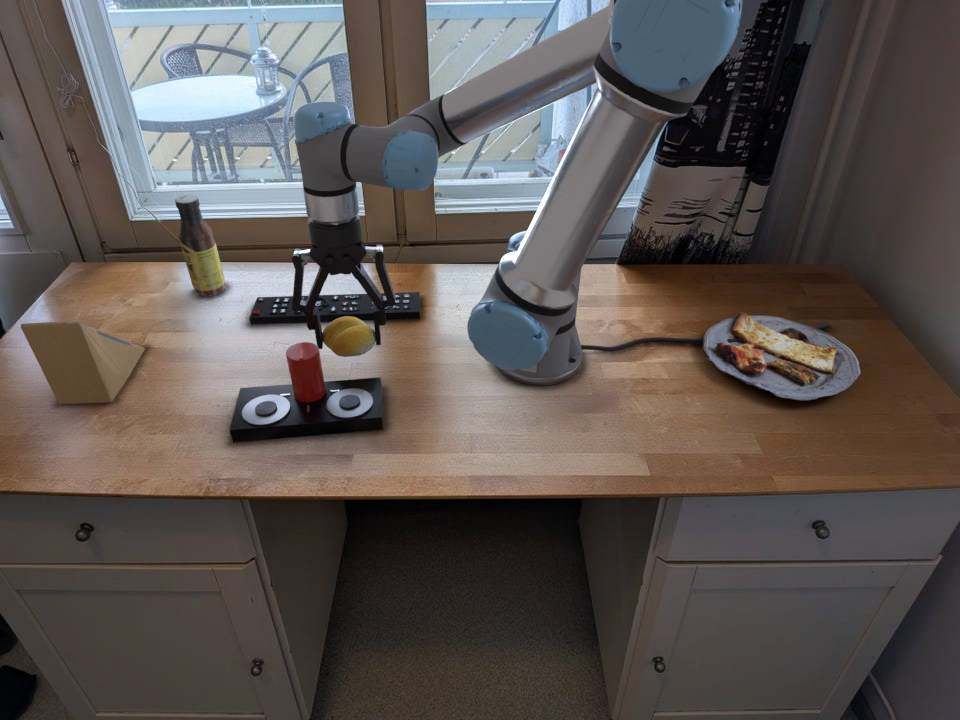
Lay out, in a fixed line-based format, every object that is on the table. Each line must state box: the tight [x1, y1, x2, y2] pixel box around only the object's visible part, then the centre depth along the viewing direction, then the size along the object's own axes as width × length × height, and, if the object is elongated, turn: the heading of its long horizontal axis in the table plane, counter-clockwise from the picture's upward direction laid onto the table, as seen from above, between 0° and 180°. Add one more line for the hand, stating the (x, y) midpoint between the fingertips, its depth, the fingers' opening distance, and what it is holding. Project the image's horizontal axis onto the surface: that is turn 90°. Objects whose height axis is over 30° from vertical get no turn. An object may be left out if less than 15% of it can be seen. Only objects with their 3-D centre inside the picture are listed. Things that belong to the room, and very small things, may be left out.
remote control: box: [249, 291, 421, 326], centre depth 125 cm, size 8×32×2 cm, turn 94°
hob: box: [228, 377, 384, 444], centre depth 101 cm, size 22×12×3 cm, turn 98°
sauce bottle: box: [174, 194, 226, 297], centre depth 126 cm, size 7×6×20 cm
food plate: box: [701, 311, 862, 401], centre depth 112 cm, size 25×23×4 cm
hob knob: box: [285, 341, 326, 403], centre depth 99 cm, size 5×5×8 cm
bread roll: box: [322, 316, 376, 358], centre depth 107 cm, size 8×9×4 cm
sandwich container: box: [20, 321, 146, 405], centre depth 104 cm, size 9×15×15 cm, turn 4°
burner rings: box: [242, 388, 373, 426], centre depth 98 cm, size 19×7×1 cm, turn 98°
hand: (349, 342), depth 108 cm, fingers closed on bread roll, 9 cm apart
